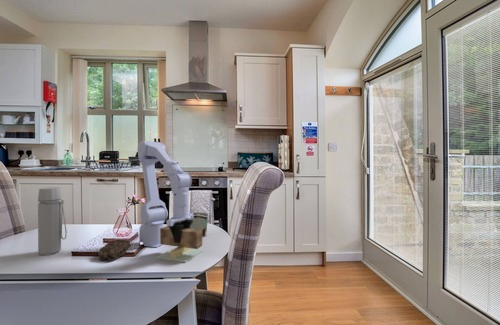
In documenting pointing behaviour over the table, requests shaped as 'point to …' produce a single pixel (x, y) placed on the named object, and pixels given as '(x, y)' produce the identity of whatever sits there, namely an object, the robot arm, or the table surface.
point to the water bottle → (50, 221)
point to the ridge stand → (180, 254)
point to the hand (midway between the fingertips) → (180, 240)
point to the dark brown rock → (113, 250)
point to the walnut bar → (182, 238)
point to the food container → (200, 222)
